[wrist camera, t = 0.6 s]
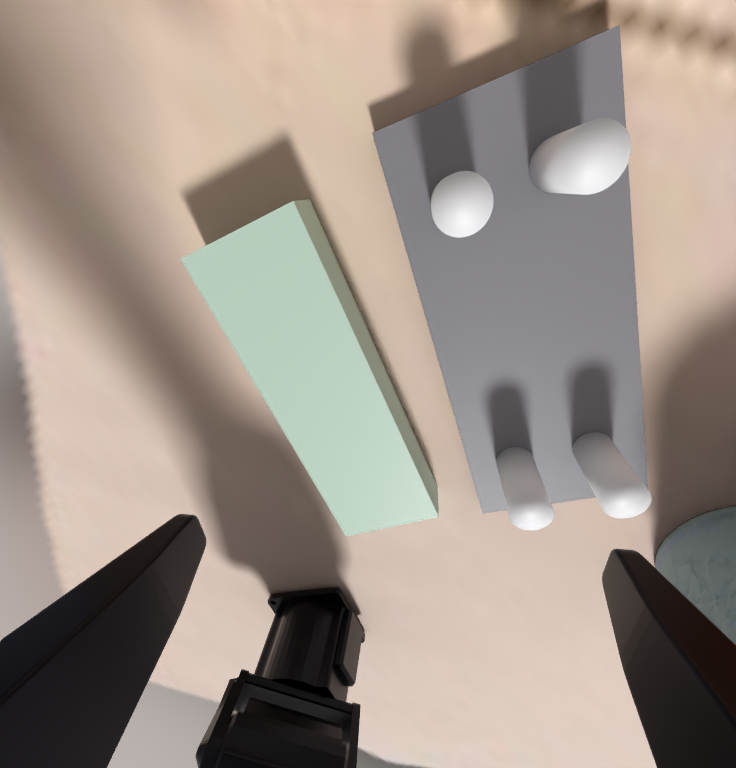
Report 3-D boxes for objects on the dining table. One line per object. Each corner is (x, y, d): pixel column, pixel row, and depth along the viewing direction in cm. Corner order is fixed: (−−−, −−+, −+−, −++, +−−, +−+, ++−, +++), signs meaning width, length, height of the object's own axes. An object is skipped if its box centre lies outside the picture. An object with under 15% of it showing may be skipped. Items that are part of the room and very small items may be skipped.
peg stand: (480, 501, 25) (492, 570, 20) (375, 135, 16) (355, 117, 12) (639, 477, 22) (691, 549, 18) (607, 35, 14) (689, -34, 10)
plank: (354, 501, 27) (346, 536, 24) (212, 249, 20) (180, 259, 17) (437, 482, 25) (438, 517, 22) (312, 198, 18) (293, 200, 16)
